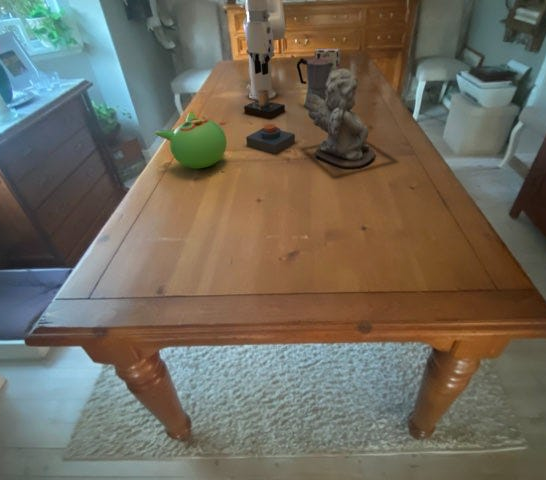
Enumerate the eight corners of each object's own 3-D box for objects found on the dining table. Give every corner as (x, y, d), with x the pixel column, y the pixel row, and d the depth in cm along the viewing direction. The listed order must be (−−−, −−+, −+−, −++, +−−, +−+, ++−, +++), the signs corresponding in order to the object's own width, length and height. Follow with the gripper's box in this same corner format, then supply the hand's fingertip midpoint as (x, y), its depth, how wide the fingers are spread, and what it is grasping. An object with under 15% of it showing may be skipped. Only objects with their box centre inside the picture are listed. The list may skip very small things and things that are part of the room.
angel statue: (333, 177, 103) (339, 86, 86) (302, 149, 118) (301, 67, 101) (395, 161, 109) (411, 73, 92) (357, 137, 124) (365, 57, 107)
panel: (244, 113, 147) (243, 105, 145) (259, 106, 153) (258, 99, 150) (270, 119, 140) (270, 111, 138) (285, 112, 146) (284, 104, 144)
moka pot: (330, 110, 145) (333, 56, 132) (294, 109, 148) (293, 56, 134) (333, 103, 152) (336, 50, 139) (298, 102, 155) (298, 50, 141)
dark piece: (247, 146, 122) (245, 131, 119) (266, 135, 129) (265, 121, 125) (276, 154, 116) (275, 139, 113) (294, 142, 123) (294, 128, 119)
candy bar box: (339, 87, 169) (341, 48, 157) (336, 90, 165) (338, 50, 154) (317, 86, 172) (317, 47, 161) (313, 88, 169) (314, 49, 157)
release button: (262, 132, 119) (261, 127, 118) (269, 128, 121) (268, 123, 120) (271, 134, 117) (270, 129, 116) (278, 130, 120) (277, 125, 118)
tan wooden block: (256, 105, 144) (255, 91, 140) (263, 102, 147) (262, 88, 143) (265, 107, 142) (263, 92, 138) (271, 104, 145) (270, 89, 141)
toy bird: (202, 182, 104) (191, 133, 94) (163, 169, 111) (149, 123, 101) (239, 158, 115) (233, 112, 105) (201, 148, 122) (192, 104, 112)
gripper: (281, 16, 122) (284, 73, 135) (247, 14, 130) (252, 68, 142) (268, 19, 118) (272, 78, 130) (233, 17, 125) (240, 73, 138)
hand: (261, 73), depth 136 cm, fingers closed
